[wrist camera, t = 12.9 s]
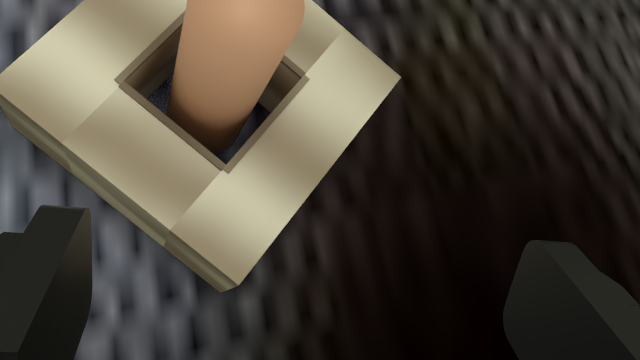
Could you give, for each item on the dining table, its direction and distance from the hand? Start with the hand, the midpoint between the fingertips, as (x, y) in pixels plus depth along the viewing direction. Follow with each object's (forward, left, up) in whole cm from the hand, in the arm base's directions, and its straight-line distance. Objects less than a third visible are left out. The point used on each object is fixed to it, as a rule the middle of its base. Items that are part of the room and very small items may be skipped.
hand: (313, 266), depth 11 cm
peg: (-7, -6, -18) cm, 20 cm away
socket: (-7, -6, -18) cm, 20 cm away
